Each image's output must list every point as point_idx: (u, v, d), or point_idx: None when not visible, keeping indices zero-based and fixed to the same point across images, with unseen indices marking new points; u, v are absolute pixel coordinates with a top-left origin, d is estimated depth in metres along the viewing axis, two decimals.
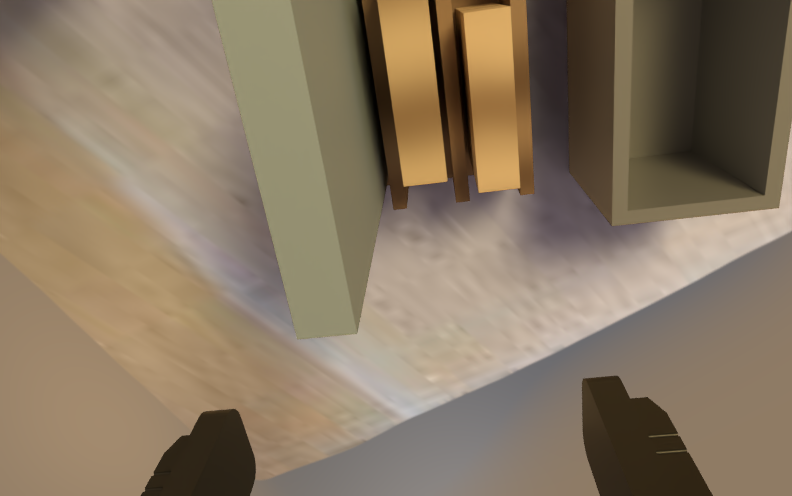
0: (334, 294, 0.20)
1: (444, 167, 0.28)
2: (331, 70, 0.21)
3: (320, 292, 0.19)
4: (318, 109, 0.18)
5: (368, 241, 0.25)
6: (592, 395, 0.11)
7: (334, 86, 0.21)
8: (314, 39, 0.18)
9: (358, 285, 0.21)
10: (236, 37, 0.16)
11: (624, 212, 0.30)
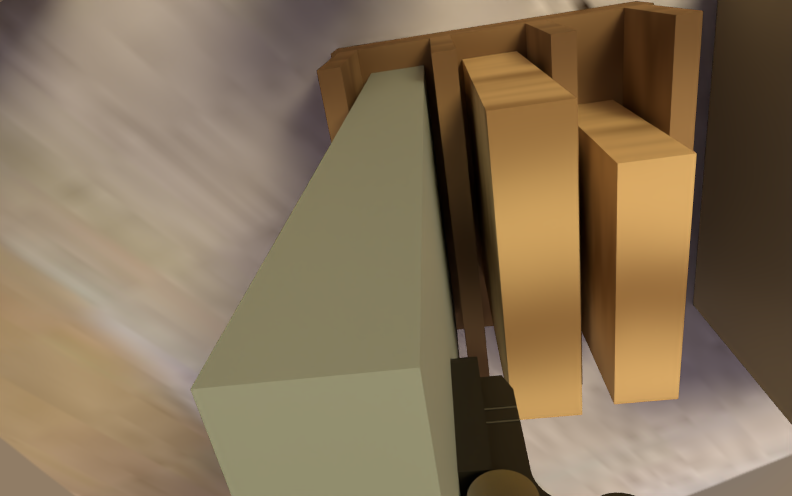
0: None
1: (579, 397, 0.18)
2: (445, 364, 0.11)
3: None
4: None
5: None
6: None
7: (449, 389, 0.11)
8: (441, 388, 0.08)
9: None
10: None
11: None
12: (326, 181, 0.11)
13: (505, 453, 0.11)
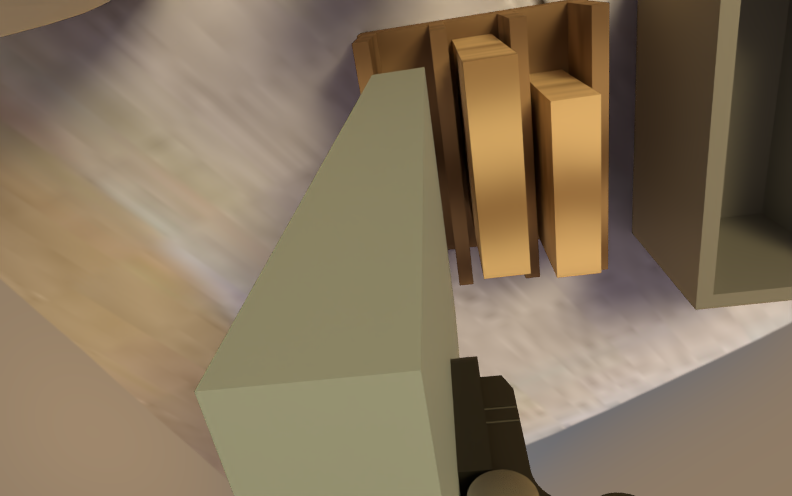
0: None
1: (528, 260, 0.26)
2: (446, 366, 0.11)
3: None
4: None
5: None
6: None
7: (449, 391, 0.11)
8: (442, 389, 0.08)
9: None
10: None
11: (709, 296, 0.29)
12: (327, 184, 0.11)
13: (505, 453, 0.11)
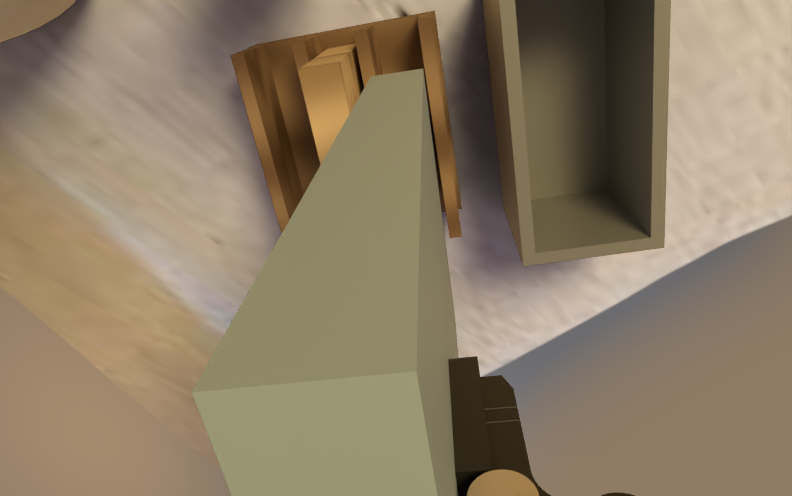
0: None
1: None
2: (443, 367, 0.11)
3: None
4: None
5: None
6: (449, 373, 0.13)
7: (447, 392, 0.11)
8: (439, 390, 0.08)
9: None
10: None
11: (532, 254, 0.35)
12: (325, 185, 0.11)
13: (505, 453, 0.11)
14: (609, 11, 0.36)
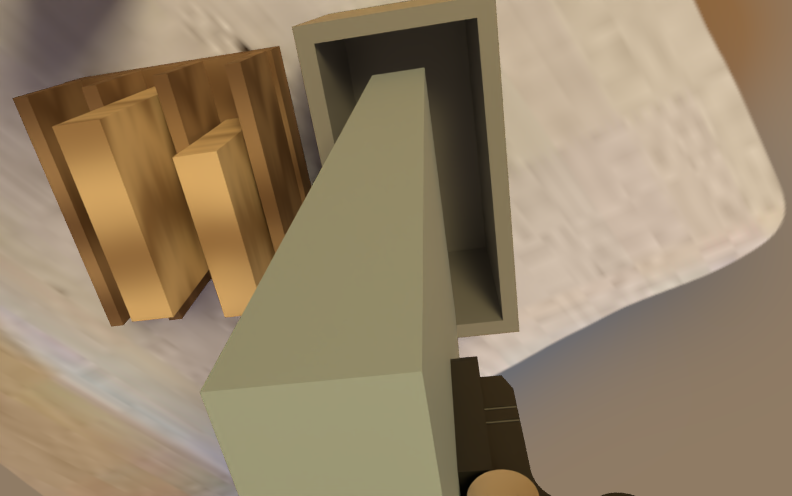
0: None
1: (167, 304, 0.28)
2: (446, 366, 0.11)
3: None
4: None
5: None
6: None
7: (450, 390, 0.11)
8: (442, 389, 0.08)
9: None
10: None
11: None
12: (329, 185, 0.11)
13: (505, 453, 0.11)
14: (469, 54, 0.32)
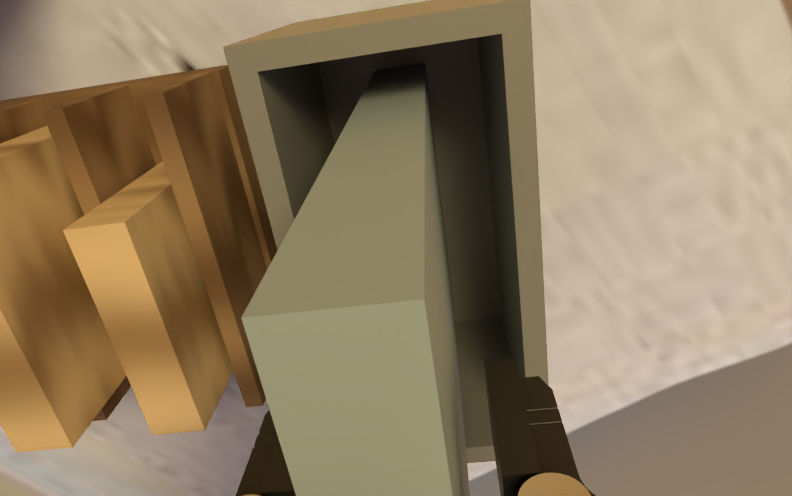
0: None
1: (62, 432, 0.20)
2: (443, 327, 0.12)
3: None
4: (455, 491, 0.09)
5: None
6: (486, 374, 0.13)
7: (447, 350, 0.12)
8: (440, 338, 0.10)
9: None
10: (307, 424, 0.07)
11: None
12: (339, 164, 0.12)
13: (550, 456, 0.11)
14: (482, 77, 0.24)
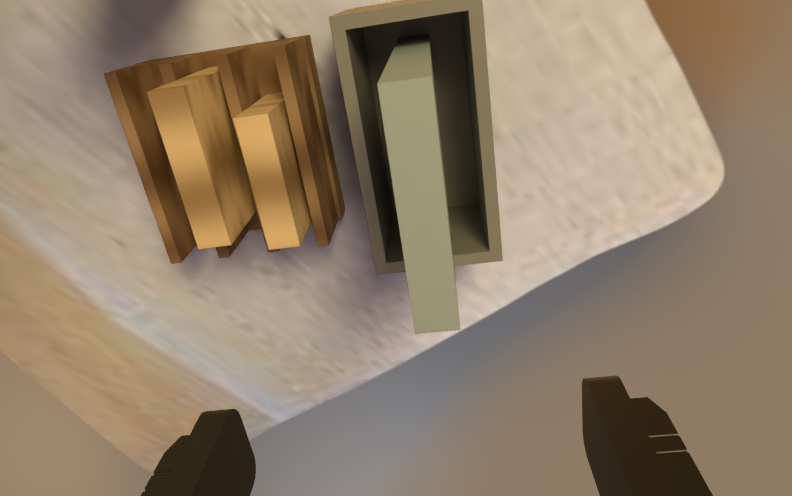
0: (446, 301, 0.27)
1: (226, 235, 0.36)
2: None
3: (436, 299, 0.27)
4: (442, 170, 0.25)
5: None
6: (592, 395, 0.11)
7: None
8: None
9: (456, 293, 0.29)
10: (394, 125, 0.23)
11: (384, 264, 0.38)
12: (393, 63, 0.28)
13: (684, 490, 0.10)
14: (463, 41, 0.39)
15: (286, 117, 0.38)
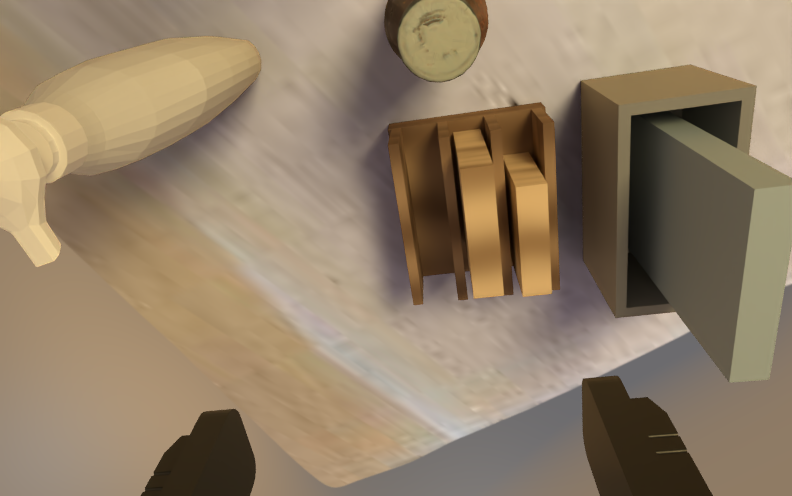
0: (763, 356, 0.32)
1: (502, 286, 0.41)
2: None
3: (755, 355, 0.32)
4: None
5: None
6: (592, 395, 0.11)
7: None
8: None
9: None
10: (759, 220, 0.28)
11: (624, 309, 0.44)
12: (707, 154, 0.33)
13: (684, 490, 0.10)
14: (688, 111, 0.45)
15: None
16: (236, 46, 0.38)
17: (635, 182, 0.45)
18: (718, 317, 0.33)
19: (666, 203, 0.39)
